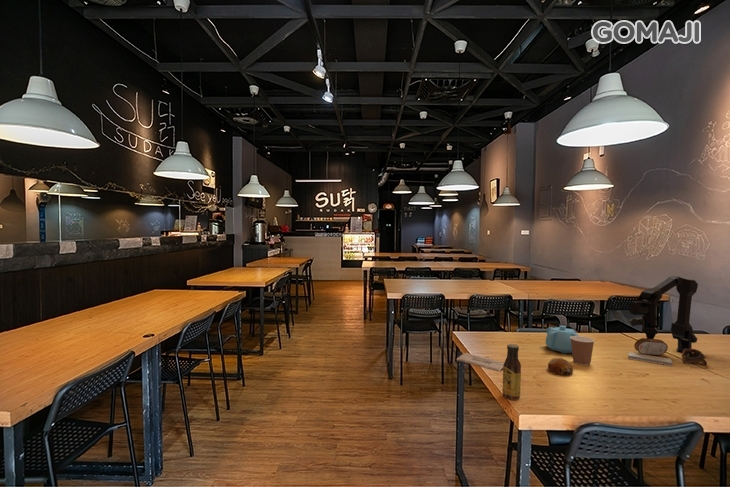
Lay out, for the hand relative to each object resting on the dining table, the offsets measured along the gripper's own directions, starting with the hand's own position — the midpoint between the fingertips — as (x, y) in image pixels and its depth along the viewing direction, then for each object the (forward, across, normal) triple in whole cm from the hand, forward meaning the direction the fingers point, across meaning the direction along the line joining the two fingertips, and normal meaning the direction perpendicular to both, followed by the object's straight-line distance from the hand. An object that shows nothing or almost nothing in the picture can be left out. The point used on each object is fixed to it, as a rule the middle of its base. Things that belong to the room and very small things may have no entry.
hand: (649, 343), depth 185 cm
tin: (+5, +2, 0) cm, 6 cm away
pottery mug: (+6, +4, +17) cm, 18 cm away
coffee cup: (+6, +40, -26) cm, 48 cm away
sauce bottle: (+6, +102, -41) cm, 110 cm away
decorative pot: (+6, +24, -37) cm, 44 cm away
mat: (+6, +10, 0) cm, 12 cm away
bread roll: (+6, +60, -31) cm, 68 cm away
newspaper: (+7, +71, -64) cm, 96 cm away
